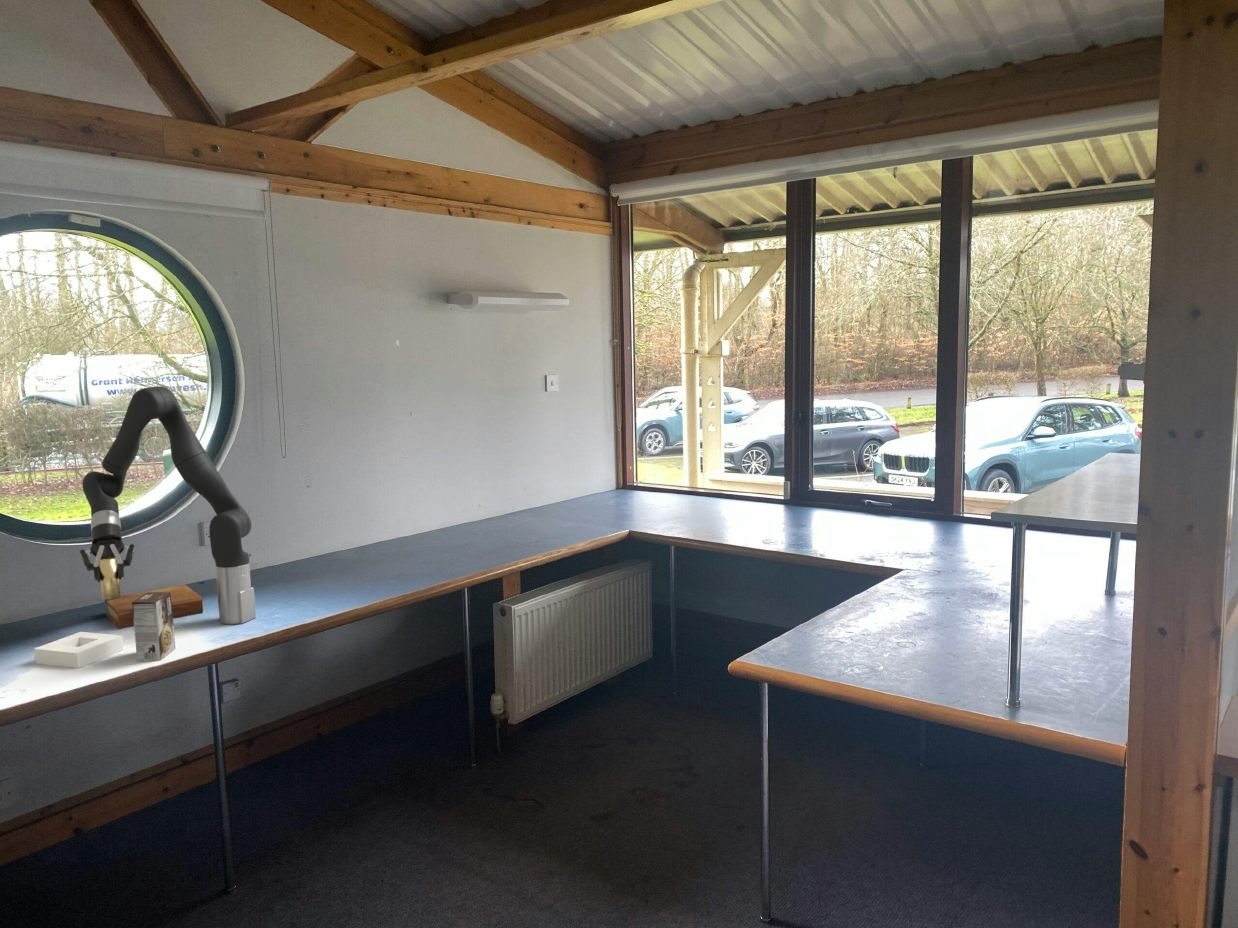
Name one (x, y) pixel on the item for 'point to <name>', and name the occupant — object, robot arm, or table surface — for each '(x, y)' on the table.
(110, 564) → the peg
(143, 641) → the coffee box
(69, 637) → the socket
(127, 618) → the brown wooden box
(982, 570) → the table surface
